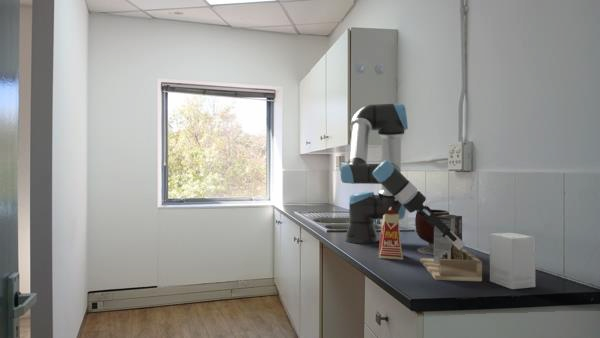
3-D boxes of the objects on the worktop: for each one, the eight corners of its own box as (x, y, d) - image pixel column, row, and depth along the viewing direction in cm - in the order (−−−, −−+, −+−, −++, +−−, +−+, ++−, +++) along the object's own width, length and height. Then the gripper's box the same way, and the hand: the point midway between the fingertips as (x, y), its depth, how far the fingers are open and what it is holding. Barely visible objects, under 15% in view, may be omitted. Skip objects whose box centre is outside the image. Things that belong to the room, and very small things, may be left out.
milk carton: (403, 259, 147) (403, 207, 147) (378, 258, 149) (378, 206, 149) (401, 254, 156) (402, 205, 156) (378, 253, 158) (378, 204, 157)
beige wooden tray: (420, 261, 144) (420, 244, 144) (458, 262, 143) (458, 245, 143) (435, 279, 120) (435, 260, 120) (482, 281, 119) (482, 261, 119)
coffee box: (444, 259, 137) (444, 213, 137) (462, 262, 132) (463, 215, 132) (432, 263, 131) (433, 216, 130) (451, 266, 126) (451, 218, 126)
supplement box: (536, 287, 113) (537, 236, 113) (512, 290, 110) (512, 238, 110) (511, 278, 121) (511, 231, 121) (488, 281, 119) (488, 233, 119)
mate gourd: (457, 253, 157) (457, 204, 157) (432, 256, 151) (432, 206, 151) (429, 246, 171) (429, 201, 171) (405, 249, 165) (405, 202, 165)
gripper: (397, 202, 144) (440, 244, 143) (407, 208, 122) (458, 259, 120) (412, 188, 144) (455, 230, 142) (425, 192, 121) (476, 242, 119)
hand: (456, 243), depth 131 cm, fingers closed on coffee box, 10 cm apart
